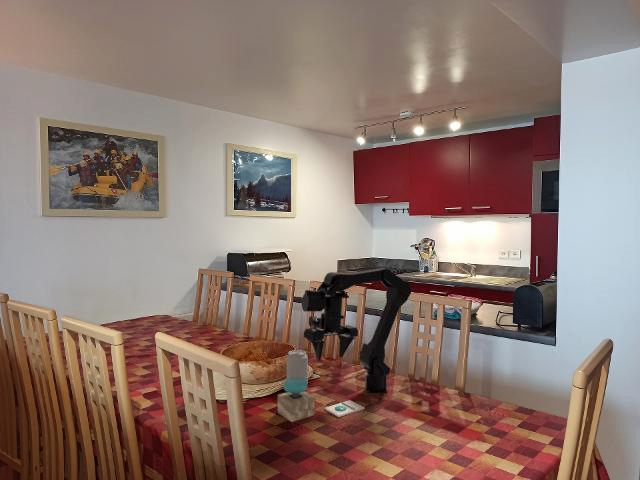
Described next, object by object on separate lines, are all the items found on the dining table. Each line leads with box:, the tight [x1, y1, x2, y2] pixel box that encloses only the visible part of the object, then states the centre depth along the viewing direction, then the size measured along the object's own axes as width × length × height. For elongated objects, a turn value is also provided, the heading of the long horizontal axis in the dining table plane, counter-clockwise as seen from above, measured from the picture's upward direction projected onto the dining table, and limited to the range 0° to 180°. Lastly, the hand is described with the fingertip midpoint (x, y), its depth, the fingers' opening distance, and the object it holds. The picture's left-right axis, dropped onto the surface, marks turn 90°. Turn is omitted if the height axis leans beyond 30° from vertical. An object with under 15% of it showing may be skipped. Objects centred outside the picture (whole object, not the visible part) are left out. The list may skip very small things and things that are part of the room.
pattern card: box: [324, 399, 365, 418], centre depth 141 cm, size 10×7×1 cm
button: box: [283, 378, 308, 399], centre depth 138 cm, size 7×7×5 cm
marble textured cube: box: [277, 391, 315, 423], centre depth 138 cm, size 8×8×6 cm
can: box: [286, 349, 309, 385], centre depth 162 cm, size 8×8×12 cm
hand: (329, 358), depth 149 cm, fingers open, 9 cm apart
